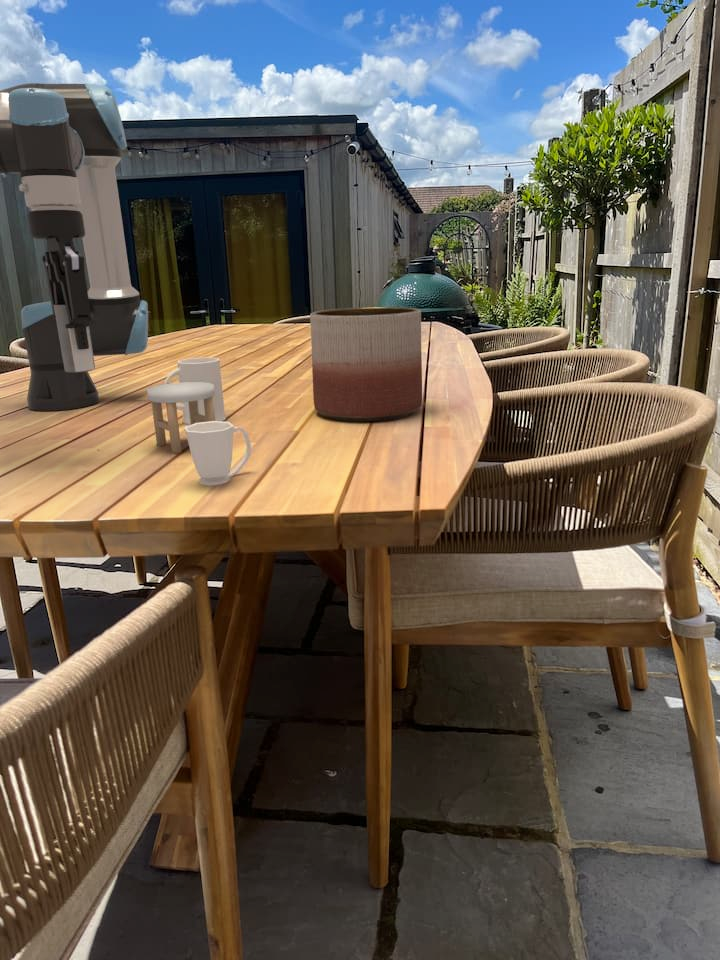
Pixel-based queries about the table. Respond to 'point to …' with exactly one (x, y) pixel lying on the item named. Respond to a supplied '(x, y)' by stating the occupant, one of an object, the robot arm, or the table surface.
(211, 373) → the white ceramic jug
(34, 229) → the robot arm
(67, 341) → the grey tube
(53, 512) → the table surface
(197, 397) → the stool
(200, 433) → the cup
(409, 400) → the planter
